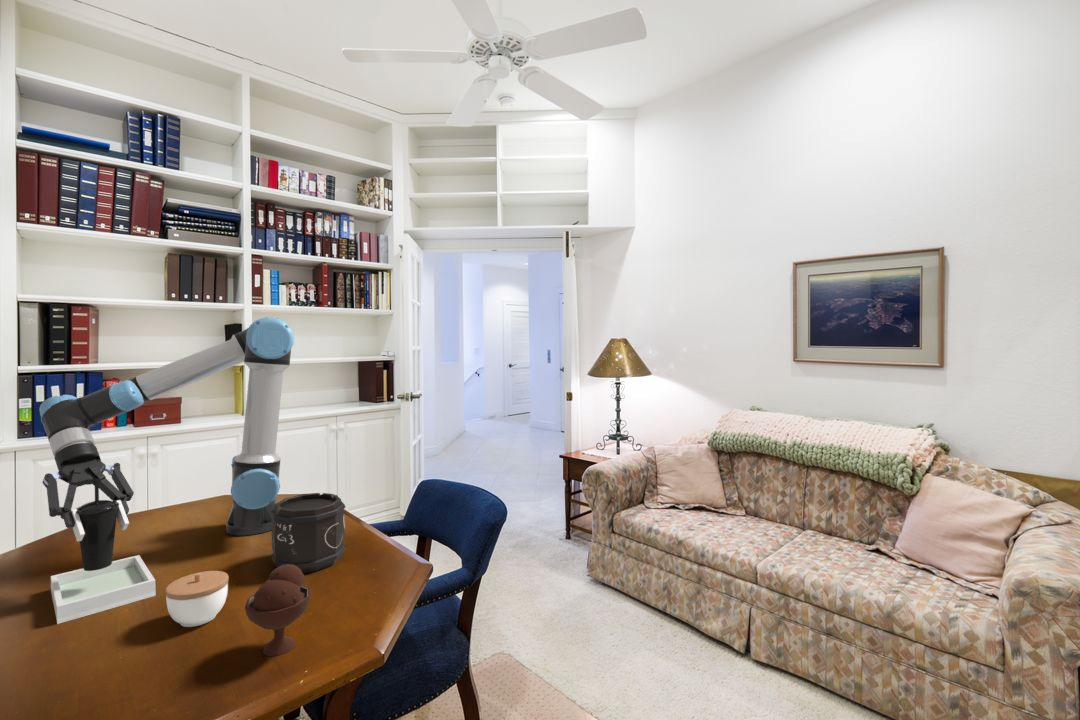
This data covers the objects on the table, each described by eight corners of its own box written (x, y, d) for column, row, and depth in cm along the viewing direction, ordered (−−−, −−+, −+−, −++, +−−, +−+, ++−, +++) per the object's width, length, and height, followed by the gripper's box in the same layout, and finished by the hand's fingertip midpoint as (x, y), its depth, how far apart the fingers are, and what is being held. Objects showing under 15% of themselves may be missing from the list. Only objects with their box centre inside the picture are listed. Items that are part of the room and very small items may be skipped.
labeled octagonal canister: (348, 543, 143) (347, 488, 143) (343, 569, 126) (343, 507, 126) (278, 550, 138) (277, 494, 137) (263, 579, 121) (262, 515, 120)
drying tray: (50, 591, 115) (50, 576, 115) (139, 568, 126) (139, 555, 126) (57, 624, 101) (56, 607, 101) (155, 595, 113) (155, 580, 113)
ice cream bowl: (261, 632, 98) (260, 557, 98) (320, 629, 99) (319, 555, 99) (233, 666, 88) (232, 582, 87) (299, 663, 89) (298, 580, 88)
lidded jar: (240, 607, 108) (240, 564, 108) (202, 635, 97) (201, 587, 97) (194, 604, 109) (194, 561, 109) (152, 632, 98) (151, 585, 98)
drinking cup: (128, 561, 116) (126, 476, 115) (89, 576, 108) (87, 484, 108) (106, 557, 118) (104, 473, 118) (66, 570, 111) (65, 481, 110)
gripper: (122, 453, 129) (151, 527, 121) (12, 469, 112) (38, 557, 104) (131, 435, 126) (161, 510, 118) (19, 448, 109) (46, 537, 101)
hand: (103, 532), depth 111 cm, fingers closed on drinking cup, 7 cm apart
